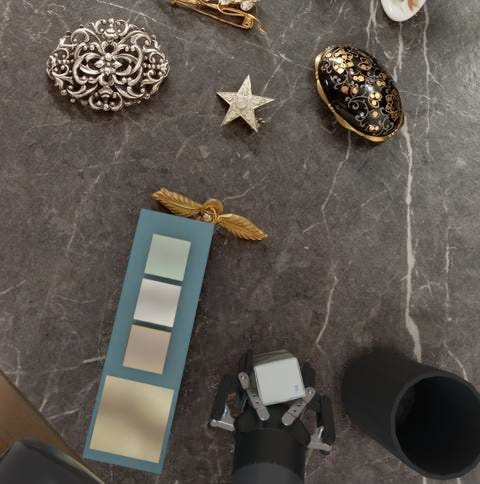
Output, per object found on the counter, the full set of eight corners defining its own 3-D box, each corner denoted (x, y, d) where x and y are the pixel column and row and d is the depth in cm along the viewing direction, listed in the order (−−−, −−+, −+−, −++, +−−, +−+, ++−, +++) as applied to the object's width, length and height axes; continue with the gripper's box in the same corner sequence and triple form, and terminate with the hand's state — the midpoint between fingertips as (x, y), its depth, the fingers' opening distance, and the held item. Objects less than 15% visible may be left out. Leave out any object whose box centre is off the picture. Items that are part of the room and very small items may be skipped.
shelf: (166, 431, 116) (161, 474, 89) (105, 418, 116) (82, 457, 89) (208, 238, 123) (214, 224, 95) (150, 226, 123) (141, 207, 95)
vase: (384, 450, 117) (450, 503, 88) (324, 397, 118) (369, 432, 89) (431, 386, 120) (511, 417, 91) (372, 334, 121) (431, 349, 92)
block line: (158, 462, 89) (157, 470, 85) (89, 447, 89) (85, 455, 85) (205, 246, 95) (206, 244, 91) (140, 232, 95) (138, 230, 91)
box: (285, 348, 112) (299, 354, 99) (293, 384, 111) (308, 396, 98) (244, 357, 111) (253, 365, 99) (251, 394, 110) (261, 407, 98)
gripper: (345, 482, 89) (345, 351, 104) (203, 451, 89) (222, 324, 103) (327, 526, 93) (329, 394, 107) (190, 497, 93) (211, 368, 107)
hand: (277, 360), depth 105 cm, fingers closed on box, 6 cm apart
